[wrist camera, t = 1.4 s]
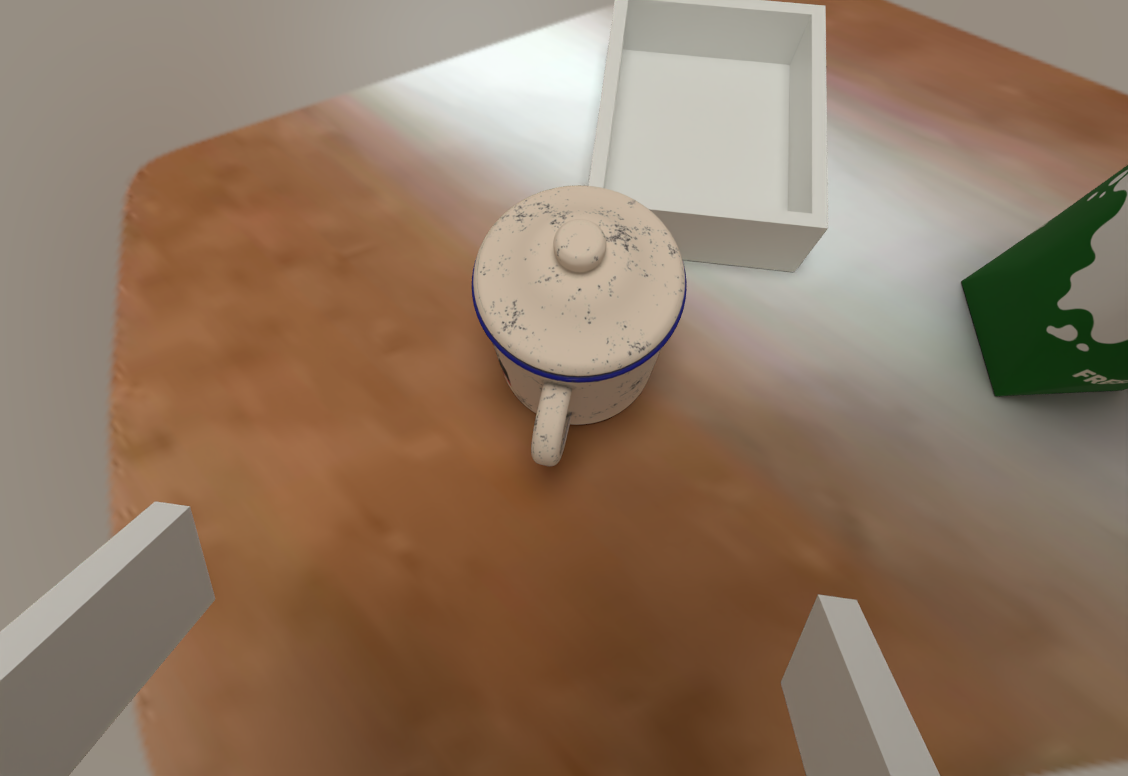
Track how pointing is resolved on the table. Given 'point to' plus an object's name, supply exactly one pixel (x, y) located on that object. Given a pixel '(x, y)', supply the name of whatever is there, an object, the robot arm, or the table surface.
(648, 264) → the teacup with lid
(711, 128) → the white rectangular tray
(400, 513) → the table surface
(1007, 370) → the milk carton
